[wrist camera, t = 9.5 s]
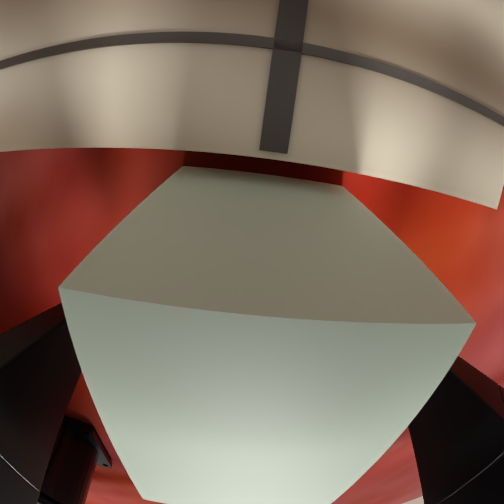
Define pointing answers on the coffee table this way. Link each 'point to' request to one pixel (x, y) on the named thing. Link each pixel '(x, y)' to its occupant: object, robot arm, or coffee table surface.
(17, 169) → the coffee table surface
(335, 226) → the block
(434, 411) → the robot arm
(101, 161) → the coffee table surface
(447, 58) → the birch board
